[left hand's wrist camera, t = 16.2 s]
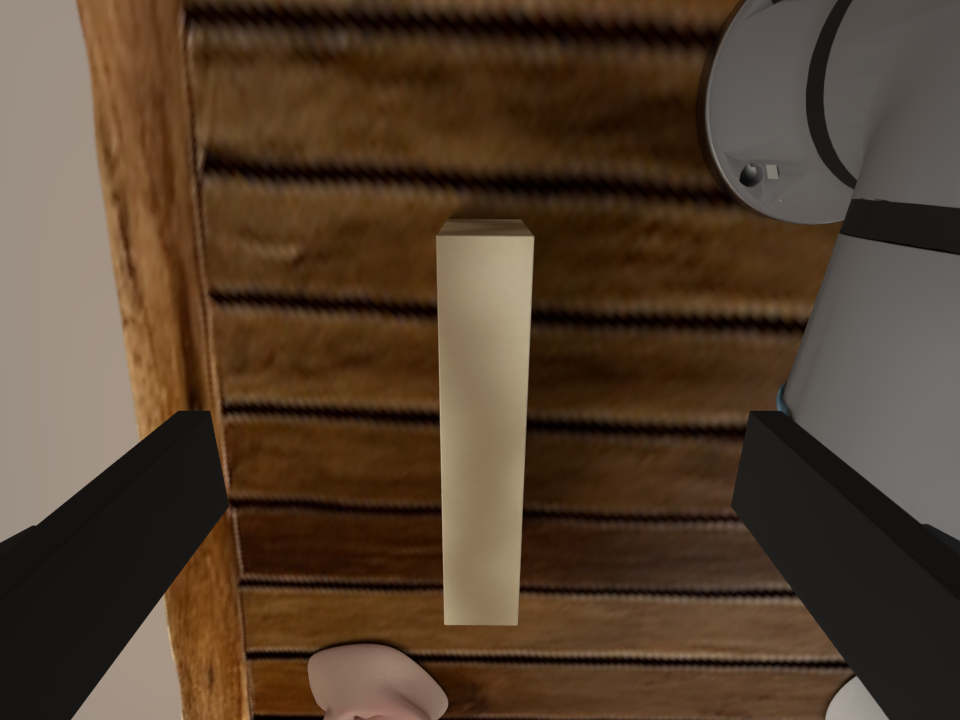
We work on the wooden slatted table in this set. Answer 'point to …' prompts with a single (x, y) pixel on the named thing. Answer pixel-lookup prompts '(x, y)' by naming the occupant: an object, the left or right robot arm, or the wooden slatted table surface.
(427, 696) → the anatomical model
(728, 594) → the wooden slatted table surface
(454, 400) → the birch rail
